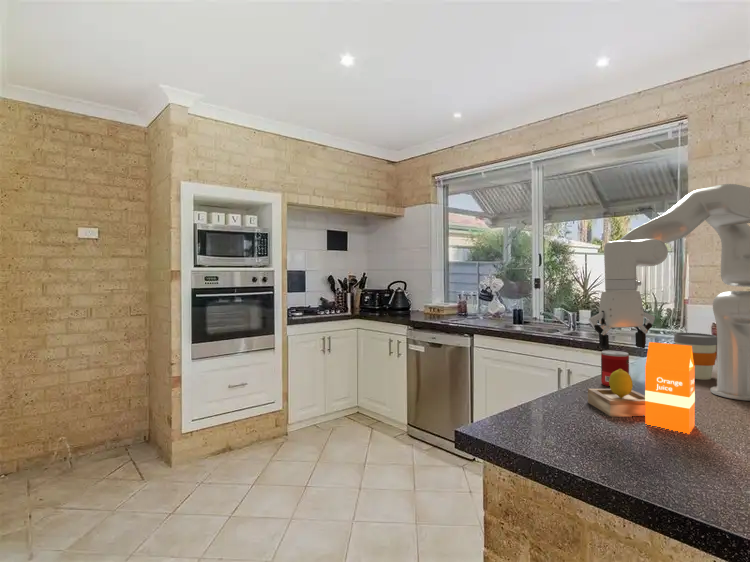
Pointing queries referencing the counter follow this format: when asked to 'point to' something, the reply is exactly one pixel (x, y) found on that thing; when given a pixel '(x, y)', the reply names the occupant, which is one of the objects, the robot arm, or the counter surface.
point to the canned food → (613, 364)
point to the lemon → (620, 383)
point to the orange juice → (670, 387)
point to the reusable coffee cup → (700, 351)
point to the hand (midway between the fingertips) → (622, 348)
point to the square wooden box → (617, 402)
